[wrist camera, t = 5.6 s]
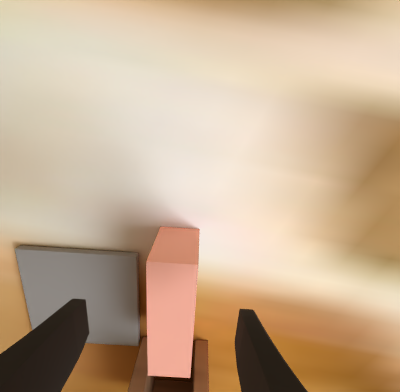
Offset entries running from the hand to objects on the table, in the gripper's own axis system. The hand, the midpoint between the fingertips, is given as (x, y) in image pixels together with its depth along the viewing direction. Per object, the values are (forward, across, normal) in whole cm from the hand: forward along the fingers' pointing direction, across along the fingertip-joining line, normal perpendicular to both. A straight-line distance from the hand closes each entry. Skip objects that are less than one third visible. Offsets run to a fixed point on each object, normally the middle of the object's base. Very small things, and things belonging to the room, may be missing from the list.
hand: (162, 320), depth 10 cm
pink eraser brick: (+9, 0, +4) cm, 10 cm away
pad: (+8, +8, +7) cm, 14 cm away
